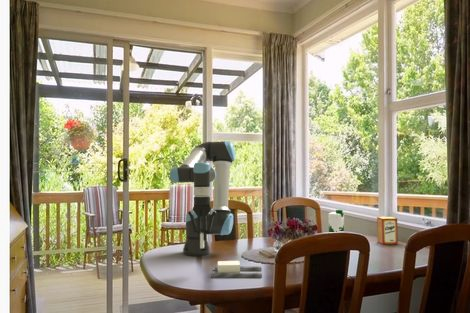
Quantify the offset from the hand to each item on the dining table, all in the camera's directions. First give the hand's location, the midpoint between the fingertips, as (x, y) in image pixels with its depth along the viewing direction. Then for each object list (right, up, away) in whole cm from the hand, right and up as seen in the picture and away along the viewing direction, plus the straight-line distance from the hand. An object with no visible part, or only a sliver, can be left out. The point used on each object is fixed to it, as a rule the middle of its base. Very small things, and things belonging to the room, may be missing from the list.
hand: (202, 247), depth 165 cm
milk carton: (+80, -13, +64) cm, 103 cm away
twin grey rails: (+16, -12, -1) cm, 20 cm away
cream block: (+12, -12, 0) cm, 17 cm away
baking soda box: (+109, -12, +57) cm, 124 cm away
